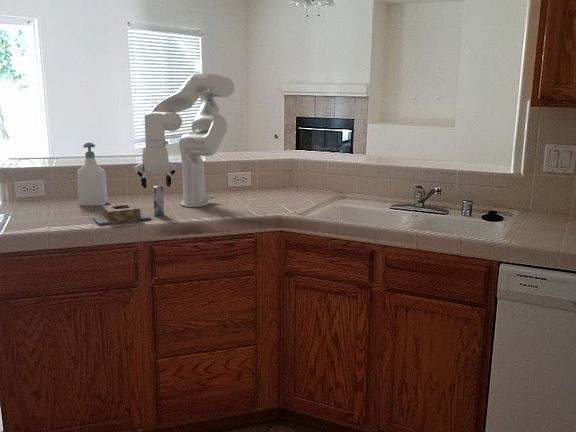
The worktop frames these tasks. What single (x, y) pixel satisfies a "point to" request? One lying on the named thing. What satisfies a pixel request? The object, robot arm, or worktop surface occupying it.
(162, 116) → the robot arm
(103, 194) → the soap bottle
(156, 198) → the grey metallic cylinder
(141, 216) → the docking mount
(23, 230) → the worktop surface
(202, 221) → the worktop surface
